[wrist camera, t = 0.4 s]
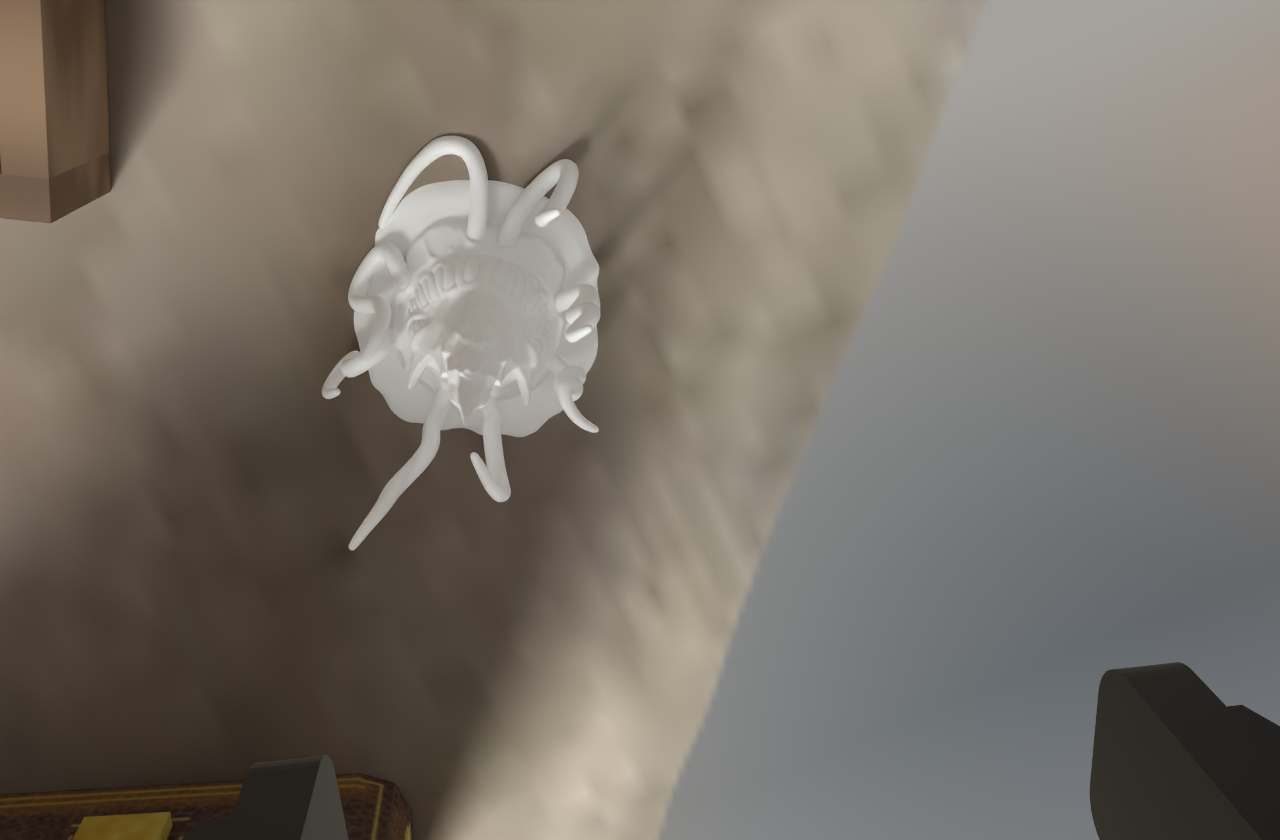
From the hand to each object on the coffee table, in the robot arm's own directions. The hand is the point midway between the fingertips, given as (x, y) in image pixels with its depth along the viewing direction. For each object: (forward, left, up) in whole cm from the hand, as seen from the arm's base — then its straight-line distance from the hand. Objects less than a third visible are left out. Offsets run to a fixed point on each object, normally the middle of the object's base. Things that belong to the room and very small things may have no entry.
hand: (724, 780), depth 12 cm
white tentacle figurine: (+4, -3, -29) cm, 29 cm away
